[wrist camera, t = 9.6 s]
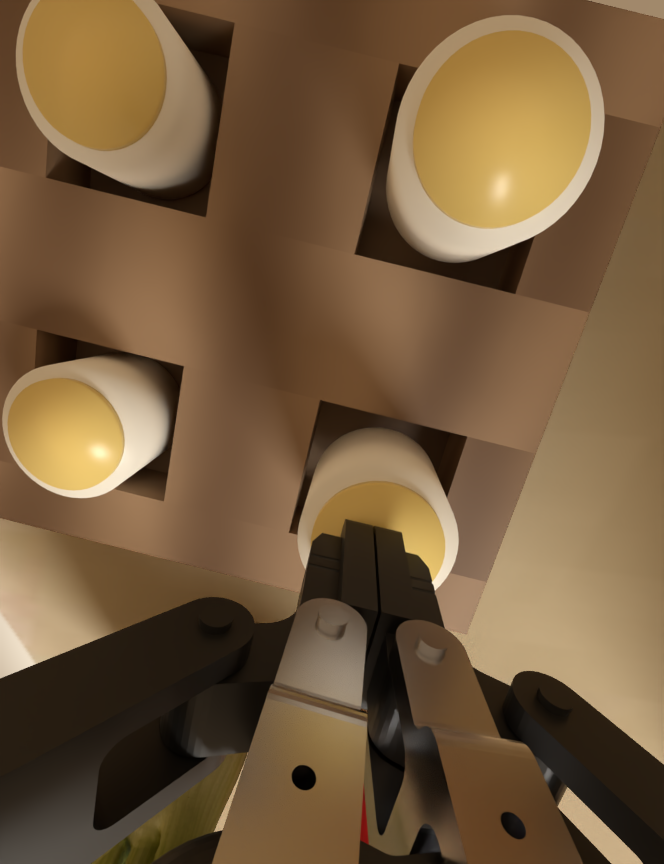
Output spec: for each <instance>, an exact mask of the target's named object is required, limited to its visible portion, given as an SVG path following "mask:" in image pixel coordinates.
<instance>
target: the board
mask: <svg viewBox="0 0 664 864" xmlns="http://www.w3.org/2000/svg"><path fill="white" fill-rule="evenodd" d="M154 1H155V2H156V3H157V4H158V6H159V7H160V9H161V10H162V11H163V13H164V14H165V16H166V17H167V19H168V20H169V22H170V23H171V24H172V26H173V27H174V29H175V30H176V32H177V33H178V35H179V36H180V37H181V39H182V40H183V42H184V43H185V45H186V46H187V48H188V49H189V50H190V52H191V53H192V55H193V56H194V58H195V59H196V61H197V62H198V63H199V65H200V66H201V68H202V69H203V71H204V72H205V74H206V75H207V76H208V78H209V79H210V81H211V82H212V84H213V85H214V87H215V88H216V90H217V92H218V94H219V96H220V99H221V101H222V104H223V105H222V112H221V119H220V125H219V132H218V139H217V146H216V153H215V159H214V166H213V173H212V179H211V180H210V181H209V182H208V183H207V184H206V185H205V186H204V187H203V188H202V189H200V190H199V191H197V192H195V193H194V194H192V195H189V196H187V197H184V198H180V199H173V200H163V199H157V198H153V197H150V196H147V195H145V194H143V193H141V192H139V191H137V190H135V189H133V188H131V187H129V186H127V185H125V184H123V183H121V182H119V181H117V180H115V179H113V178H111V177H109V176H107V175H105V174H103V173H101V172H99V171H97V170H95V169H93V168H91V167H89V166H87V165H85V164H83V163H81V162H79V161H77V160H75V159H73V158H71V157H69V156H68V155H66V154H65V153H63V152H62V151H60V150H59V149H58V148H57V147H56V146H54V145H53V144H52V143H51V142H50V141H49V140H48V139H47V138H46V137H45V136H44V134H43V133H42V132H41V130H40V129H39V128H38V126H37V125H36V123H35V122H34V120H33V118H32V117H31V115H30V113H29V111H28V109H27V107H26V104H25V102H24V99H23V96H22V93H21V90H20V86H19V82H18V77H17V69H16V44H17V37H18V32H19V27H20V24H21V21H22V18H23V15H24V13H25V11H26V9H27V7H28V5H29V3H30V2H31V0H0V518H3V519H7V520H11V521H15V522H19V523H23V524H27V525H31V526H35V527H39V528H43V529H47V530H51V531H55V532H59V533H63V534H67V535H71V536H75V537H79V538H83V539H87V540H91V541H95V542H99V543H103V544H107V545H111V546H115V547H119V548H123V549H127V550H131V551H135V552H139V553H143V554H147V555H151V556H155V557H159V558H163V559H167V560H171V561H175V562H179V563H183V564H187V565H191V566H195V567H199V568H203V569H207V570H211V571H215V572H219V573H223V574H227V575H231V576H235V577H239V578H243V579H247V580H251V581H255V582H259V583H263V584H267V585H271V586H275V587H279V588H283V589H287V590H291V591H295V592H299V593H300V590H301V586H302V582H303V578H304V574H305V568H304V565H303V563H302V561H301V558H300V554H299V550H298V542H297V539H298V527H299V522H300V518H301V515H302V512H303V508H304V505H305V502H306V498H307V495H308V492H309V489H310V485H311V482H312V479H313V475H314V472H315V469H316V466H317V463H318V461H319V459H320V457H321V456H322V454H323V453H324V451H325V450H326V449H327V448H328V447H329V446H330V445H331V444H332V443H333V442H334V441H335V440H337V439H338V438H340V437H341V436H343V435H345V434H347V433H349V432H352V431H355V430H358V429H363V428H371V427H378V428H386V429H391V430H395V431H398V432H400V433H402V434H404V435H406V436H408V437H410V438H411V439H413V440H414V441H415V442H416V443H418V444H419V445H420V446H421V447H422V449H423V450H424V451H425V452H426V454H427V455H428V457H429V458H430V460H431V462H432V464H433V467H434V469H435V471H436V474H437V476H438V478H439V481H440V483H441V486H442V488H443V490H444V493H445V495H446V497H447V500H448V502H449V505H450V507H451V509H452V512H453V514H454V517H455V520H456V523H457V528H458V538H459V544H458V552H457V556H456V559H455V563H454V565H453V567H452V569H451V571H450V573H449V575H448V576H447V578H446V579H445V580H444V582H443V583H442V584H441V585H440V586H439V587H438V588H437V589H436V590H435V595H436V597H437V601H438V604H439V608H440V612H441V616H442V620H443V623H444V627H445V629H447V630H451V631H455V632H459V633H463V634H467V632H468V629H469V627H470V624H471V621H472V619H473V616H474V614H475V611H476V608H477V606H478V603H479V601H480V598H481V595H482V593H483V590H484V587H485V585H486V582H487V580H488V577H489V574H490V572H491V569H492V567H493V564H494V561H495V559H496V556H497V554H498V551H499V548H500V546H501V543H502V540H503V538H504V535H505V533H506V530H507V527H508V525H509V522H510V520H511V517H512V514H513V512H514V509H515V507H516V504H517V501H518V499H519V496H520V494H521V491H522V488H523V486H524V483H525V480H526V478H527V475H528V473H529V470H530V467H531V465H532V462H533V460H534V457H535V454H536V452H537V449H538V447H539V444H540V441H541V439H542V436H543V433H544V431H545V428H546V426H547V423H548V420H549V418H550V415H551V413H552V410H553V407H554V405H555V402H556V400H557V397H558V394H559V392H560V389H561V386H562V384H563V381H564V379H565V376H566V373H567V371H568V368H569V366H570V363H571V360H572V358H573V355H574V353H575V350H576V347H577V345H578V342H579V339H580V337H581V334H582V332H583V329H584V326H585V324H586V321H587V319H588V316H589V313H590V311H591V308H592V306H593V303H594V300H595V298H596V295H597V293H598V290H599V287H600V285H601V282H602V279H603V277H604V274H605V272H606V269H607V266H608V264H609V261H610V259H611V256H612V253H613V251H614V248H615V246H616V243H617V240H618V238H619V235H620V232H621V230H622V227H623V225H624V222H625V219H626V217H627V214H628V212H629V209H630V206H631V204H632V201H633V199H634V196H635V193H636V191H637V188H638V185H639V183H640V180H641V178H642V175H643V172H644V170H645V167H646V165H647V162H648V159H649V157H650V154H651V152H652V149H653V146H654V144H655V141H656V139H657V136H658V133H659V131H660V128H661V125H662V123H663V120H664V19H661V18H657V17H653V16H648V15H644V14H640V13H636V12H632V11H628V10H624V9H620V8H616V7H612V6H608V5H604V4H600V3H595V2H592V1H587V0H154ZM502 15H521V16H527V17H533V18H536V19H539V20H542V21H545V22H548V23H549V24H551V25H553V26H555V27H557V28H559V29H560V30H562V31H563V32H564V33H566V34H567V35H568V36H570V37H571V38H572V39H573V40H574V41H575V42H576V43H577V44H578V45H579V46H580V47H581V49H582V50H583V52H584V53H585V54H586V56H587V57H588V59H589V60H590V62H591V64H592V66H593V68H594V70H595V72H596V75H597V78H598V81H599V84H600V87H601V92H602V97H603V102H604V116H605V118H604V134H603V140H602V146H601V150H600V153H599V157H598V160H597V163H596V166H595V168H594V171H593V173H592V175H591V178H590V179H589V181H588V183H587V185H586V187H585V188H584V190H583V192H582V193H581V194H580V196H579V197H578V199H577V200H576V201H575V203H574V204H573V205H572V206H571V207H570V208H569V210H568V211H567V212H566V213H565V214H564V215H563V216H562V217H561V218H559V219H558V220H557V221H556V222H555V223H554V224H552V225H551V226H550V227H548V228H547V229H545V230H544V231H542V232H541V233H539V234H537V235H535V236H533V237H531V238H529V239H527V240H524V241H522V242H519V243H517V244H514V245H512V246H509V247H507V248H504V249H502V250H499V251H497V252H494V253H492V254H489V255H487V256H484V257H482V258H479V259H476V260H472V261H468V262H461V263H447V262H441V261H437V260H434V259H431V258H428V257H426V256H424V255H422V254H421V253H419V252H418V251H416V250H415V249H413V248H412V247H411V246H410V245H409V244H408V243H407V242H406V241H405V240H404V239H403V237H402V236H401V235H400V233H399V232H398V230H397V229H396V227H395V225H394V223H393V220H392V218H391V215H390V212H389V209H388V203H387V196H386V181H387V173H388V167H389V161H390V156H391V150H392V144H393V138H394V132H395V126H396V121H397V115H398V111H399V108H400V105H401V102H402V98H403V96H404V94H405V91H406V89H407V87H408V84H409V83H410V81H411V79H412V77H413V76H414V74H415V72H416V71H417V69H418V68H419V66H420V65H421V64H422V62H423V61H424V60H425V58H426V57H427V56H428V55H429V54H430V53H431V52H432V51H433V50H434V49H435V48H436V47H437V46H438V45H439V44H440V43H441V42H443V41H444V40H445V39H446V38H447V37H449V36H450V35H452V34H453V33H455V32H456V31H458V30H460V29H461V28H463V27H465V26H467V25H470V24H472V23H474V22H476V21H480V20H483V19H486V18H489V17H496V16H502ZM114 352H129V353H133V354H137V355H141V356H145V357H149V358H151V359H153V360H154V361H156V362H157V363H159V364H160V365H161V366H163V367H164V368H165V369H166V370H167V371H168V372H169V373H170V375H171V376H172V377H173V378H174V380H175V382H176V383H177V385H178V387H179V389H180V396H179V403H178V410H177V417H176V423H175V430H174V437H173V444H172V446H171V447H170V448H169V449H167V450H166V451H165V452H163V453H162V454H160V455H159V456H158V457H156V458H155V459H154V460H152V461H151V462H150V463H148V464H147V465H145V466H144V467H143V468H141V469H140V470H139V471H137V472H136V473H135V474H133V475H132V476H130V477H129V478H128V479H126V480H125V481H124V482H122V483H121V484H120V485H118V486H117V487H115V488H114V489H113V490H111V491H109V492H107V493H105V494H102V495H100V496H96V497H91V498H72V497H66V496H62V495H59V494H56V493H54V492H51V491H49V490H47V489H45V488H44V487H42V486H40V485H39V484H37V483H36V482H35V481H33V480H32V479H31V478H30V477H29V476H28V475H27V474H26V473H25V472H24V471H23V470H22V469H21V468H20V467H19V465H18V464H17V463H16V461H15V460H14V458H13V456H12V454H11V453H10V451H9V448H8V446H7V443H6V440H5V437H4V432H3V425H2V415H3V408H4V404H5V400H6V398H7V395H8V393H9V391H10V390H11V388H12V387H13V385H14V384H15V383H16V382H17V381H18V380H19V379H20V378H21V377H22V376H23V375H25V374H26V373H28V372H30V371H32V370H34V369H36V368H39V367H43V366H47V365H52V364H57V363H62V362H68V361H73V360H78V359H83V358H88V357H94V356H99V355H104V354H109V353H114Z"/></svg>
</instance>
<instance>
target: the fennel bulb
mask: <svg viewBox="0 0 664 864" xmlns="http://www.w3.org/2000/svg"><path fill="white" fill-rule="evenodd" d="M246 756H247V752H245V753H236V754H228V755H227V756H226V757H225V759H224V761H223V762H222V763H221V765H220V766H219V767H218V768H217V769H216V770H214V771H213V772H212V773H211V774H209V775H208V776H207V777H205V778H204V779H203V780H201V781H200V782H199V783H197V784H196V785H195V786H193V787H192V788H191V789H189V790H188V791H187V792H185V793H184V794H183V795H181V796H180V797H179V798H177V799H176V800H175V801H173V802H172V803H171V804H169V805H168V806H167V807H165V808H164V809H163V810H161V811H160V812H159V813H157V814H156V815H155V816H153V817H152V818H151V819H149V820H148V821H147V822H145V823H144V824H143V825H141V826H140V827H139V828H138V829H136V830H135V831H134V832H132V833H131V834H130V835H128V836H127V837H126V838H124V839H123V840H122V841H120V842H119V843H118V844H116V845H115V846H114V847H112V848H111V849H110V850H108V851H107V852H106V853H104V854H103V855H102V856H100V857H99V858H98V859H96V860H95V861H94V862H92V863H91V864H151V863H152V862H154V861H155V860H157V859H158V858H160V857H161V856H162V855H164V854H165V853H167V852H168V851H170V850H172V849H174V848H176V847H177V846H179V845H181V844H183V843H185V842H187V841H189V840H192V839H195V838H197V837H200V836H203V835H205V834H209V833H213V832H214V830H215V828H216V825H217V823H218V820H219V818H220V816H221V814H222V812H223V810H224V807H225V805H226V803H227V801H228V799H229V797H230V795H231V793H232V790H233V788H234V786H235V784H236V782H237V779H238V777H239V774H240V772H241V769H242V767H243V765H244V762H245V759H246Z"/></svg>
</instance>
